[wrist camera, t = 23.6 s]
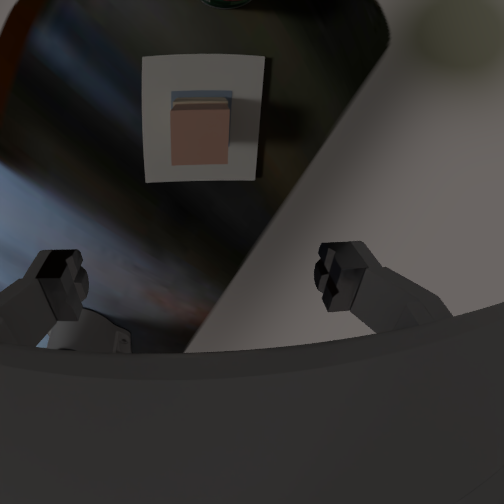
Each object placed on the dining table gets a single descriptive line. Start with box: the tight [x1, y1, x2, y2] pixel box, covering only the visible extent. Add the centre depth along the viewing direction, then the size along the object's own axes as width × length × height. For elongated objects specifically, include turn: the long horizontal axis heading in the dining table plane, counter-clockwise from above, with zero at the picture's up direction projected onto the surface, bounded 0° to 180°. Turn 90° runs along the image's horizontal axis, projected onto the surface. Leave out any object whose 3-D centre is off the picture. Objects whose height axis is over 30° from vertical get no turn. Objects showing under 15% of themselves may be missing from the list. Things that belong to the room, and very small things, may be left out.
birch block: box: [173, 97, 228, 107], centre depth 30 cm, size 6×6×5 cm
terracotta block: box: [170, 103, 230, 166], centre depth 26 cm, size 5×5×5 cm
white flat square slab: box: [142, 54, 265, 183], centre depth 33 cm, size 16×14×1 cm
